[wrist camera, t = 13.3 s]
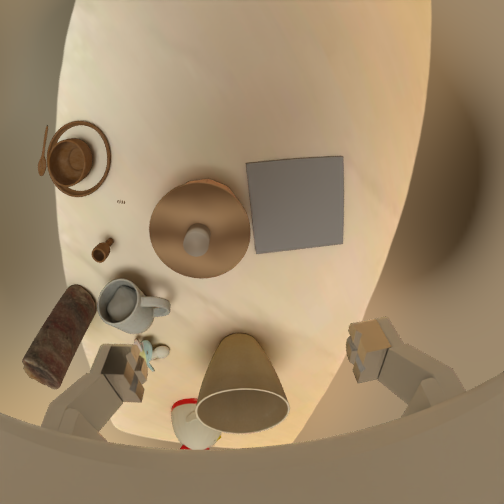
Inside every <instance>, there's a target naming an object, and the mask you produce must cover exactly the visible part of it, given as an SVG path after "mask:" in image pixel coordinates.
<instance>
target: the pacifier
mask: <svg viewBox="0 0 504 504" xmlns="http://www.w3.org/2000/svg"><path fill="white" fill-rule="evenodd" d="M134 344H135V345H137V346H138V347H139V349H140V354H139V355H140V356H141V357H143V358H144V359H145V361H146V364H147V366H148V367H149V368H150V369H151V370H152V371H155V370H154V368H153V367H152V366H151V364H150V363H149V361H150V360H153V359H155V358H165V357H167V356H168V355H169V348H168V347H166V346H159V347H157V348H155V349H154V350H153V351H152V345H151V343H150V342H149V341H148V340H144V341H142V342H141V344H140V343H139V341H138V340H137V339H135V341H134ZM147 351H148V353H147Z"/></svg>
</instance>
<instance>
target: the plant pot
mask: <svg viewBox="0 0 504 504" xmlns="http://www.w3.org/2000/svg"><path fill="white" fill-rule="evenodd" d="M289 411H290V406H289V403H288V401H287V398H286V395H285V393H284V390H283V387H282V385H281V383H280V380H279V378H278V376H277V374H276V372H275V370H274V368H273V366H272V364H271V362H270V360H269V359H268V357H267V355H266V354H265V352H264V351H263V349H262V348H261V346H260V345H259V344H258V342H257V341H256V340H255V339H254V338H253V337H252V336H250V335H247V334H241V333H237V334H232V335H229V336H227V337H226V338H224V339H223V340H222V342H221V343H220V345H219V347H218V348H217V350H216V352H215V354H214V356H213V358H212V360H211V362H210V364H209V366H208V369H207V371H206V374H205V376H204V379H203V382H202V385H201V389H200V392H199V396H198V400H197V404H196V408H195V414H196V417H197V419H198V420H199V421H200V422H201V423H202V424H204V425H205V426H207V427H209V428H211V429H213V430H216V431H219V432H224V433H230V434H250V433H257V432H261V431H265V430H268V429H270V428H273V427H275V426H276V425H278V424H280V423H281V422H282V421H284V420H285V418H286V417H287V416H288V414H289Z"/></svg>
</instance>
